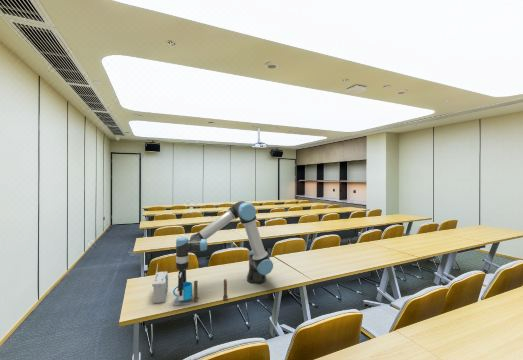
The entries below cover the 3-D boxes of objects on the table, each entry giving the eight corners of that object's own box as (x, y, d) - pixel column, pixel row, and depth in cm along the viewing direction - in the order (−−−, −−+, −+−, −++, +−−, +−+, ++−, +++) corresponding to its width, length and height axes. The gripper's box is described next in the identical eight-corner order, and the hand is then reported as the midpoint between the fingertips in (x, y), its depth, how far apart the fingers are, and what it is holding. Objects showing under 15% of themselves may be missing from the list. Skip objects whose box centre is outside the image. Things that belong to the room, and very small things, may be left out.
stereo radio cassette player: (165, 303, 159) (165, 272, 158) (151, 304, 156) (151, 273, 156) (168, 288, 179) (168, 261, 178) (156, 290, 176) (155, 262, 176)
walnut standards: (227, 297, 166) (227, 278, 166) (227, 300, 162) (227, 280, 162) (194, 299, 164) (193, 280, 163) (193, 302, 160) (193, 282, 159)
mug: (192, 293, 166) (192, 281, 165) (191, 299, 158) (191, 286, 157) (174, 295, 164) (174, 282, 163) (171, 301, 156) (171, 288, 155)
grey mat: (191, 297, 166) (191, 296, 166) (189, 304, 156) (189, 304, 156) (176, 298, 165) (176, 297, 165) (172, 305, 155) (172, 305, 155)
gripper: (179, 256, 170) (179, 289, 170) (172, 268, 149) (172, 305, 150) (190, 256, 171) (190, 289, 171) (185, 267, 150) (185, 304, 151)
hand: (182, 296), depth 161 cm, fingers closed on mug, 8 cm apart
